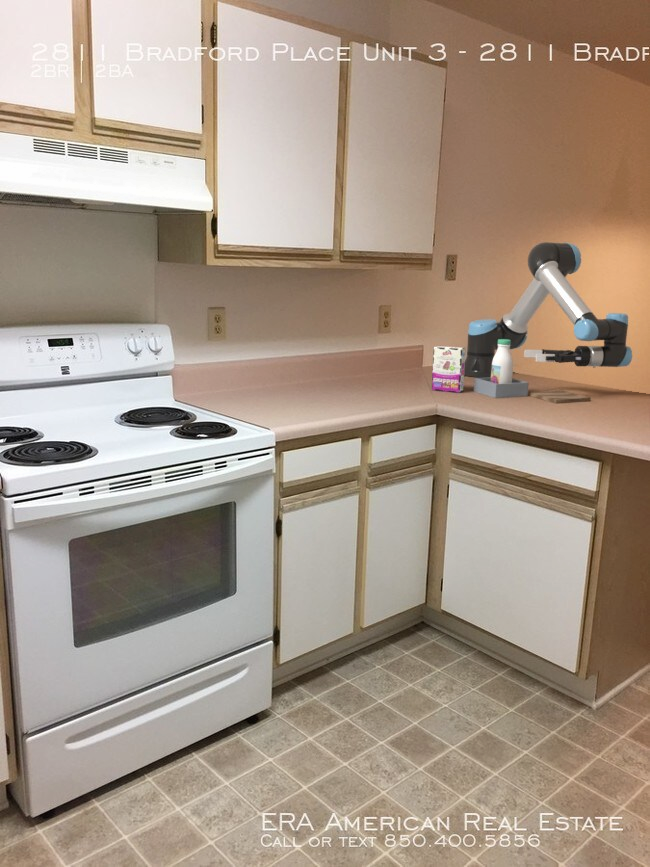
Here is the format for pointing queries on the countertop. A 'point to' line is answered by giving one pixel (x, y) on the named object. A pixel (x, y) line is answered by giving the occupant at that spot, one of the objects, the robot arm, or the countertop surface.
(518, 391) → the box
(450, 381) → the candy bar box
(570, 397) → the walnut board
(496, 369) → the milk bottle
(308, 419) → the countertop surface
